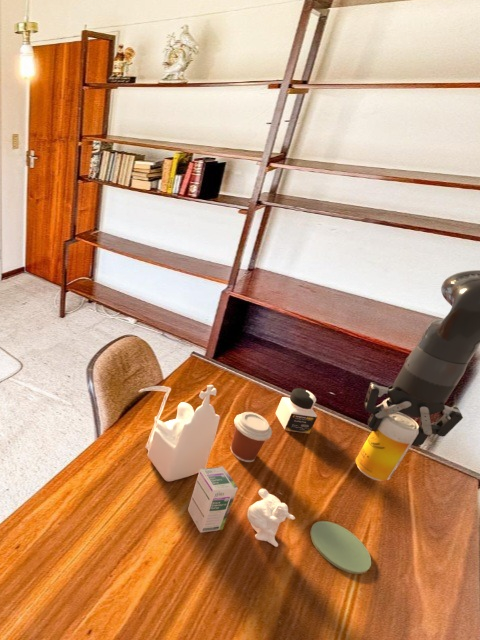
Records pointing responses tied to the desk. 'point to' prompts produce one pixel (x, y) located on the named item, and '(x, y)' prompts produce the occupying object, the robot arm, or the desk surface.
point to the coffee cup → (249, 435)
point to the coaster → (340, 547)
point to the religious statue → (183, 437)
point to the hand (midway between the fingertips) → (392, 435)
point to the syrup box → (212, 499)
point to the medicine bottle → (297, 411)
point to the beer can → (387, 446)
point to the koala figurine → (267, 516)
